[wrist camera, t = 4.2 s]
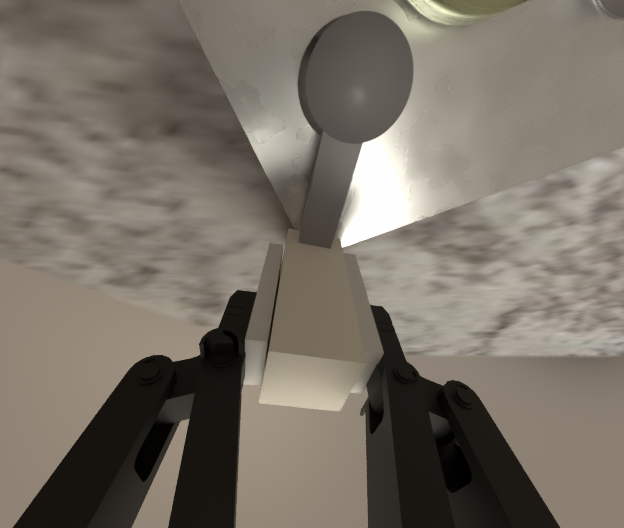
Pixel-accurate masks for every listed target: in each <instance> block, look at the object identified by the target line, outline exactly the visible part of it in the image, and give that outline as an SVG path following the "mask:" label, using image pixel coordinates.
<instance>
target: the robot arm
mask: <svg viewBox="0 0 624 528" xmlns="http://www.w3.org/2000/svg"><path fill="white" fill-rule="evenodd" d="M282 253H283V245H281V244H274V243H270V244H269V248H268V252H267V256H266V260H265V264H264V267H263V271H262V275H261V279H260V283H259V287H258V291H257V292H249V291H241V290H237V291H236V292H235V293H234V294H233V295H232V296H231V297H230V299H229V301H228V304H227V307H226V309H225V312H224V315H223V317H222V320H221V322H220V325H219V327H218V328H216V329H213V330H211V331H209V332H208V333H207V334H205V335H204V336H203V337H202V339H201V342H200V343H199V346H200V354H201V355H199V356H197V357H194V358H191V359H186V360H181V361H176V362H172V360H171V359H170V358H169V357H166V356H163V355H153V356H150V357H146V358H144V359H142V360H140V361H139V362H137V363H135V364H134V365H133V366H132V367H131V368H130V370H129V371H128V372H127V373H126V375H125V376H124V378H123V379H122V380H121V382H120V383H119V384H118V386H117V387H116V388H115V390H114V391H113V392H112V394H111V395H110V396H109V398H108V399H107V400H106V402H105V403H104V405H103V406H102V407H101V409H100V410H99V411H98V413H97V414H96V415H95V417H94V418H93V420H92V421H91V422H90V424H89V425H88V426H87V428H86V429H85V430H84V432H83V433H82V434H81V436H80V437H79V438H78V440H77V441H76V443H75V444H74V445H73V447H72V448H71V449H70V451H69V452H68V453H67V455H66V456H65V457H64V459H63V460H62V462H61V463H60V464H59V466H58V467H57V468H56V470H55V471H54V473H53V474H52V475H51V476H50V478H49V479H48V481H47V482H46V483H45V485H44V486H43V487H42V489H41V490H40V492H39V493H38V494H37V495H36V497H35V498H34V500H33V501H32V502H31V504H30V505H29V506H28V508H27V509H26V510H25V512H24V513H23V515H22V516H21V517H20V519H19V520H18V522H17V523H16V524H15V525H14V527H13V528H131V527H132V525H133V523H134V521H135V519H136V516H137V514H138V512H139V510H140V508H141V505H142V503H143V501H144V499H145V497H146V495H147V493H148V490H149V488H150V486H151V484H152V482H153V479H154V477H155V475H156V473H157V471H158V469H159V466H160V464H161V462H162V460H163V457H164V456H165V453H166V451H167V449H168V447H169V445H170V442H171V440H172V438H173V436H174V434H175V432H176V429H177V427H178V425H179V423H180V421H182V420H186V419H189V418H190V419H189V425H188V430H187V435H186V440H185V445H184V450H183V455H182V460H181V465H180V470H179V476H178V480H177V486H176V491H175V496H174V501H173V506H172V511H171V516H170V521H169V526H168V528H235V525H236V524H235V523H236V503H237V502H236V501H237V481H238V457H239V436H240V412H241V391H242V387H243V382H244V384H247V385H260V386H262V380H263V375H264V370H265V364H266V358H267V352H268V346H269V340H270V333H271V327H272V321H273V315H274V309H275V303H276V296H277V290H278V284H279V277H280V269H281V261H282ZM343 255H344V259H345V264H346V269H347V274H348V278H349V283H350V288H351V293H352V297H353V302H354V307H355V312H356V316H357V321H358V326H359V331H360V335H361V340H362V345H363V349H364V354H365V359H366V366H365V367H364V369H363V371H362V373H361V374H360V376H359V378H358V380H357V381H356V383H355V385H354V387H353V388H352V390H351V392H350V393H361V394H362V393H363V392H364V390H365V388H366V386H367V391H368V396H369V397H368V399H367V400H366V402H365V404H364V406H363V408H362V409H361V413H360V415H361V416H363V415H364V413H366V454H367V497H368V528H560V527H559V525H558V523H557V522H556V520H555V519H554V517H553V515H552V514H551V512H550V511H549V509H548V507H547V506H546V504H545V503H544V501H543V499H542V498H541V496H540V495H539V493H538V492H537V490H536V488H535V487H534V485H533V483H532V482H531V480H530V479H529V477H528V476H527V474H526V472H525V471H524V469H523V467H522V466H521V464H520V463H519V461H518V459H517V458H516V456H515V455H514V453H513V451H512V450H511V448H510V447H509V445H508V443H507V442H506V440H505V439H504V437H503V435H502V434H501V432H500V431H499V429H498V427H497V426H496V424H495V423H494V421H493V419H492V418H491V416H490V414H489V413H488V411H487V410H486V408H485V407H484V405H483V403H482V402H481V400H480V399H479V397H478V396H477V395H476V393H475V392H474V391H473V390H472V389H471V388H469V387H468V386H467V385H465V384H463V383H461V382H459V381H454V380H452V381H447V383H446V384H445V385H444V386H442V385H440V384H437V383H435V382H432V381H430V380H427V379H425V378H423V377H421V376H420V375H419V373H418V371H417V370H416V369H415V368H414V367H413V366H412V365H411V364H409V363H408V362H407V361H406V359H405V356H404V354H403V351H402V348H401V346H400V343H399V340H398V337H397V335H396V333H395V329H394V327H393V325H392V321H391V318H390V316H389V314H388V313H387V312H386V310H385V309H384V308H383V307H381V306H373V305H370V304H369V300H368V297H367V293H366V290H365V287H364V283H363V280H362V276H361V273H360V270H359V266H358V263H357V259H356V256H355V255H353V254H346V253H343Z"/></svg>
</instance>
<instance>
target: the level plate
mask: <svg viewBox="0 0 624 528" xmlns="http://www.w3.org/2000/svg"><path fill="white" fill-rule="evenodd" d="M178 2H179V4H180V6H181V8H182V10H183V12H184V14H185V16H186V18H187V20H188V21H189V23H190V25H191V27H192V29H193V31H194V33H195V35H196V37H197V39H198V41H199V43H200V45H201V47H202V49H203V51H204V53H205V55H206V57H207V59H208V61H209V63H210V65H211V67H212V69H213V71H214V73H215V75H216V77H217V79H218V80H219V82H220V84H221V86H222V88H223V90H224V92H225V94H226V96H227V98H228V100H229V102H230V104H231V106H232V108H233V110H234V112H235V114H236V116H237V118H238V120H239V122H240V124H241V126H242V128H243V130H244V132H245V134H246V136H247V138H248V139H249V141H250V143H251V145H252V147H253V149H254V151H255V153H256V155H257V157H258V159H259V161H260V163H261V165H262V167H263V169H264V171H265V173H266V175H267V177H268V179H269V181H270V183H271V185H272V187H273V189H274V191H275V193H276V195H277V197H278V199H279V200H280V202H281V204H282V206H283V208H284V210H285V212H286V214H287V216H288V218H289V220H290V222H291V224H292V226H293V228H294V230H299V231H300V230H301V225H302V220H303V216H304V211H305V206H306V202H307V197H308V192H309V188H310V183H311V178H312V174H313V169H314V165H315V160H316V155H317V151H318V146H319V141H320V137H321V132H322V129H321V128H320V126H319V125H318V124H317V122H316V121H315V119H314V117H313V115H312V113H311V111H310V108H309V105H308V100H307V94H306V74H307V68H308V63H309V60H310V57H311V54H312V52H313V49H314V47H315V45H316V43H317V42H318V40H319V38H320V37H321V36H322V34H323V33H324V32H325V31H326V29H327V28H328V27H330V26H331V25H332V24H333V23H334V22H335V21H337V20H338V19H339V18H341V17H343V16H345V15H347V14H350V13H353V12H358V11H373V12H378V13H380V14H383V15H385V16H387V17H388V18H390V19H391V20H393V21H394V22H395V23H396V24H397V25H398V26H399V28H400V29H401V30H402V31H403V33H404V35H405V37H406V38H407V40H408V43H409V46H410V49H411V53H412V57H413V70H414V74H413V83H412V88H411V92H410V96H409V99H408V101H407V104H406V106H405V108H404V110H403V112H402V113H401V115H400V116H399V118H398V119H397V121H396V122H395V123H394V124H393V125H392V126H391V127H390V128H389V129H388V130H387V131H386V132H385V133H383V134H382V135H380V136H379V137H377V138H375V139H373V140H371V141H368V142H364V143H363V145H362V148H361V151H360V154H359V158H358V161H357V164H356V167H355V171H354V174H353V177H352V181H351V184H350V187H349V190H348V194H347V197H346V200H345V204H344V207H343V210H342V213H341V217H340V220H339V223H338V227H337V230H336V233H335V236H334V237H335V238H340V241H341V245H342V248H343V247H345V246H348V245H351V244H354V243H357V242H359V241H362V240H365V239H368V238H371V237H374V236H376V235H379V234H382V233H385V232H388V231H390V230H393V229H396V228H399V227H402V226H404V225H407V224H410V223H413V222H416V221H418V220H421V219H424V218H427V217H430V216H432V215H435V214H438V213H441V212H444V211H446V210H449V209H452V208H455V207H458V206H460V205H463V204H466V203H469V202H472V201H475V200H477V199H480V198H483V197H486V196H489V195H491V194H494V193H497V192H500V191H503V190H505V189H508V188H511V187H514V186H517V185H519V184H522V183H525V182H528V181H531V180H533V179H536V178H539V177H542V176H545V175H547V174H550V173H553V172H556V171H559V170H561V169H564V168H567V167H570V166H573V165H576V164H578V163H581V162H584V161H587V160H590V159H592V158H595V157H598V156H601V155H604V154H606V153H609V152H612V151H615V150H618V149H620V148H623V147H624V0H178Z"/></svg>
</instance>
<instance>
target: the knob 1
mask: <svg viewBox="0 0 624 528" xmlns="http://www.w3.org/2000/svg"><path fill="white" fill-rule="evenodd" d="M413 74H414V70H413V57H412V53H411V49H410V46H409V43H408V40H407V38H406V37H405V35H404V33H403V31H402V30H401V29H400V28H399V26H398V25H397V24H396V23H395V22H394V21H393V20H391V19H390V18H388V17H387V16H385V15H383V14H380V13H378V12H373V11H358V12H353V13H350V14H347V15H345V16H343V17H341V18H339V19H338V20H337V21H335V22H334V23H333V24H332V25H331V26H330V27H328V28H327V29H326V31H325V32H324V33H323V34H322V36H321V37H320V38H319V40H318V42H317V43H316V45H315V47H314V49H313V52H312V54H311V57H310V60H309V63H308V68H307V74H306V94H307V100H308V105H309V108H310V111H311V113H312V115H313V117H314V119H315V121H316V122H317V124H318V125H319V126H320V128H321V129H322V132H321V137H320V141H319V146H318V151H317V155H316V160H315V165H314V169H313V174H312V178H311V183H310V188H309V192H308V197H307V202H306V206H305V211H304V216H303V220H302V225H301V230H300V231H299V230H294V229H289V228H288V233H287V239H286V244H285V250H284V255H283V260H282V266H281V271H280V277H279V284H278V290H277V296H276V303H275V309H274V315H273V321H272V327H271V333H270V340H269V346H268V352H267V358H266V364H265V370H264V375H263V380H262V386H261V392H260V397H259V403H264V404H273V405H283V406H292V407H303V408H312V409H321V410H331V411H340V410H341V408H342V406H343V404H344V402H345V400H346V399H347V397H348V395H349V394H350V392H351V390H352V388H353V387H354V385H355V383H356V381H357V380H358V378H359V376H360V374H361V373H362V371H363V369H364V367H365V366H366V359H365V354H364V349H363V345H362V340H361V335H360V331H359V326H358V321H357V316H356V312H355V307H354V302H353V297H352V293H351V288H350V283H349V278H348V274H347V269H346V264H345V259H344V255H343V250H342V245H341V241H340V238H335V237H334V236H335V233H336V230H337V227H338V223H339V220H340V217H341V213H342V210H343V207H344V204H345V200H346V197H347V194H348V190H349V187H350V184H351V181H352V177H353V174H354V171H355V167H356V164H357V161H358V158H359V154H360V151H361V148H362V145H363V143H364V142H368V141H371V140H373V139H375V138H377V137H379V136H380V135H382V134H383V133H385V132H386V131H387V130H388V129H389V128H390V127H391V126H392V125H393V124H394V123H395V122H396V121H397V119H398V118H399V116H400V115H401V113H402V112H403V110H404V108H405V106H406V104H407V101H408V99H409V96H410V92H411V88H412V83H413Z"/></svg>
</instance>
